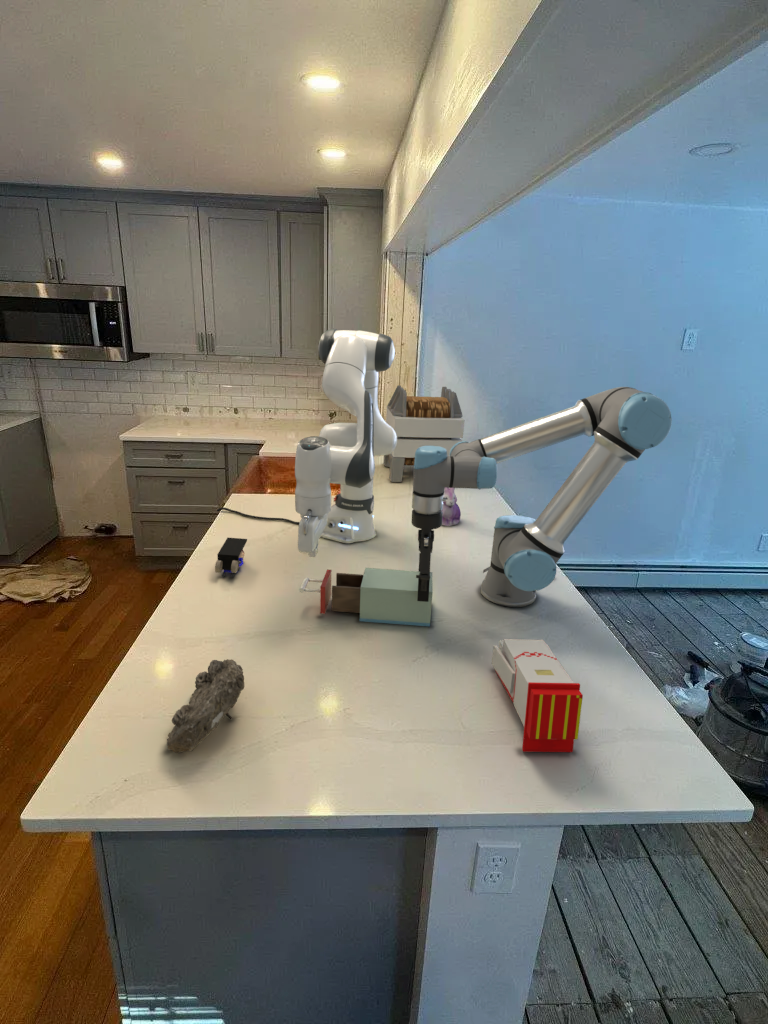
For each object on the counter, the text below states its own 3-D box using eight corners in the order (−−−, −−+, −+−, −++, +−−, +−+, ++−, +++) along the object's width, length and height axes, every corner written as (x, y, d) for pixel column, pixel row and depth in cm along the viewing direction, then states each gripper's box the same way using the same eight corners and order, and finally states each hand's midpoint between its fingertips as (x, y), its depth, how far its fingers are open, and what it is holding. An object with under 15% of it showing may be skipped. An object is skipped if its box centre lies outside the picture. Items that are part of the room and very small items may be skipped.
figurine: (446, 528, 206) (449, 489, 201) (431, 519, 215) (434, 481, 210) (467, 524, 211) (471, 486, 206) (452, 516, 219) (455, 478, 214)
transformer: (382, 463, 289) (386, 382, 275) (445, 464, 293) (451, 384, 279) (390, 482, 257) (394, 392, 243) (460, 483, 261) (468, 394, 247)
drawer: (297, 611, 144) (297, 584, 142) (305, 593, 154) (305, 567, 151) (384, 618, 143) (385, 591, 141) (387, 599, 153) (388, 573, 150)
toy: (540, 622, 128) (592, 691, 98) (535, 677, 130) (584, 759, 101) (487, 621, 127) (523, 690, 98) (483, 676, 130) (516, 758, 101)
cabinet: (359, 621, 143) (360, 586, 140) (364, 599, 154) (365, 567, 151) (429, 626, 142) (432, 592, 139) (429, 604, 153) (432, 572, 150)
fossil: (192, 660, 117) (244, 628, 112) (224, 691, 120) (276, 661, 115) (142, 746, 98) (202, 712, 93) (182, 779, 101) (242, 748, 96)
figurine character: (238, 584, 162) (249, 557, 175) (236, 562, 158) (247, 536, 172) (215, 584, 161) (227, 556, 175) (212, 561, 158) (225, 535, 171)
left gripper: (318, 519, 130) (317, 573, 134) (332, 492, 149) (331, 540, 154) (290, 517, 130) (291, 571, 135) (308, 490, 149) (308, 539, 154)
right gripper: (444, 529, 126) (438, 613, 133) (441, 494, 149) (437, 567, 157) (410, 527, 126) (406, 611, 134) (413, 493, 150) (410, 566, 157)
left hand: (313, 555), depth 144 cm, fingers closed
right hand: (423, 588), depth 145 cm, fingers open, 13 cm apart
